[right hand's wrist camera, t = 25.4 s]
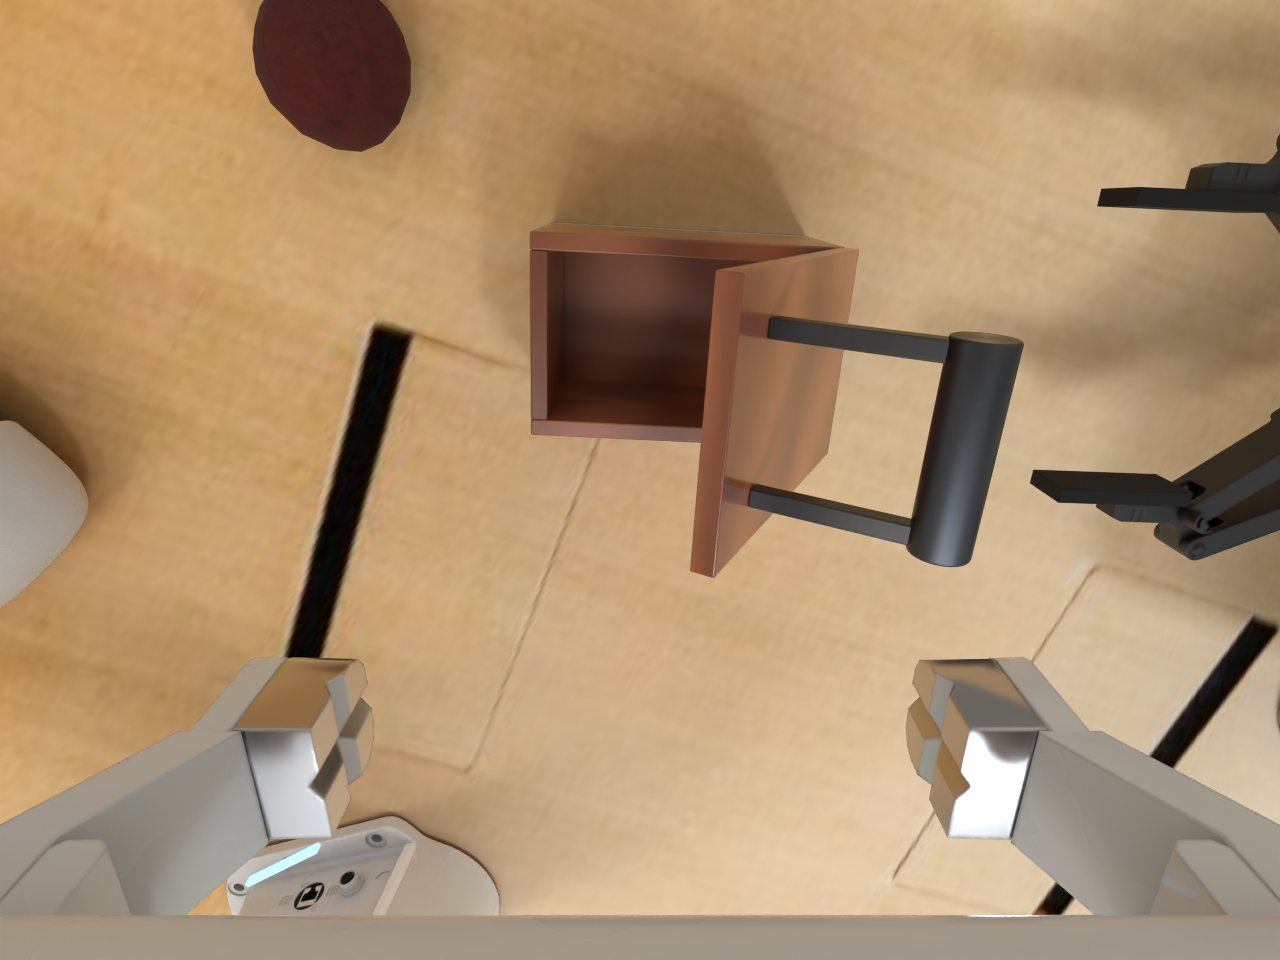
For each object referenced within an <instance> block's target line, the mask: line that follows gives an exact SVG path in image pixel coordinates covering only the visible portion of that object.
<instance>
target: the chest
mask: <svg viewBox="0 0 1280 960" xmlns="http://www.w3.org/2000/svg"><path fill="white" fill-rule="evenodd" d="M837 248H844V247H841V246H837V245H834V244H830V243H827V242H823V241H820V240H816V239H813V238H809V237H808V236H803V235H784V234H765V233H746V232H727V231H708V230H689V229H670V228H651V227H632V226H613V225H594V224H575V223H556V222H552V223H550V224H549V225H546V226H544V227H541V228H539V229H536V230H534V231H531V232H530V249H531V251H530V329H531V434H532V435H550V436H571V437H592V438H614V439H635V440H656V441H677V442H698V443H701V437H702V425H703V413H704V402H705V390H706V378H707V366H708V355H709V343H710V331H711V319H712V308H713V296H714V284H715V272H716V270H720V269H725V268H731V267H736V266H742V265H748V264H753V263H759V262H764V261H770V260H776V259H781V258H787V257H792V256H798V255H804V254H809V253H815V252H820V251H826V250H832V249H837Z"/></svg>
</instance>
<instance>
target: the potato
mask: <svg viewBox="0 0 1280 960" xmlns="http://www.w3.org/2000/svg"><path fill="white" fill-rule="evenodd" d="M253 55H254V63H255V70H256V75H257V77H258V79H259V81H260V83H261V85H262V87H263V89H264V91H265V93H266V95H267V97H268V99H269V101H270V103H271V104H272V105H273V106H274V107H275V108H276V109H277V110H278V111H279V112H280V113H281V114H282V115H283V116H284V117H285V118H286V119H287V120H288V121H289V122H290V123H291V124H292V125H293V126H294V127H295V128H296V129H297V130H298V131H299V132H300V133H301V134H303V135H306V136H308V137H310V138H312V139H315V140H317V141H319V142H321V143H323V144H326V145H328V146H330V147H332V148H335V149H339V150H349V151H359V152H362V151H364V150H366V149H369V148H371V147H373V146H376V145H378V144H380V143H382V142H383V141H384V140H385V139H386V138H387V137H388V135H389V134H390V133H391V132H392V131H393V130H394V129H395V127H396V126H397V125H398V124H399V122H400V120H401V117H402V114H403V112H404V109H405V106H406V103H407V101H408V98H409V95H410V57H409V54H408V50H407V47H406V44H405V40H404V37H403V34H402V32H401V30H400V29H399V27H398V25H397V23H396V21H395V20H394V18H393V16H392V14H391V13H390V12H389V10H388V9H387V8H386V7H385V6H384V4H383V3H382V2H381V1H380V0H264V1H263V2H262V4H261V6H260V8H259V12H258V16H257V19H256V23H255V28H254V38H253Z"/></svg>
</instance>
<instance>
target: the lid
mask: <svg viewBox="0 0 1280 960" xmlns="http://www.w3.org/2000/svg"><path fill="white" fill-rule="evenodd" d="M858 253H859V250H858V249H848V248H837V249H832V250H826V251H820V252H815V253H809V254H804V255H798V256H792V257H787V258H781V259H776V260H770V261H764V262H759V263H753V264H748V265H742V266H736V267H731V268H725V269H720V270H716V272H715V284H714V296H713V308H712V319H711V331H710V343H709V355H708V366H707V378H706V390H705V402H704V413H703V425H702V437H701V449H700V460H699V472H698V484H697V496H696V507H695V519H694V531H693V542H692V554H691V566H690V571H691V572H695V573H698V574H702V575H705V576H708V577H712V578H714V577H715V576H716V575H717V574H718V573H719V572H720V571H721V570H722V568H723V567H724V566H725V565H726V564H727V563H728V562H729V561H730V560H731V559H732V557H733V556H734V555H735V554H736V553H737V552H738V551H739V550H740V549H741V548H742V547H743V545H744V544H745V543H746V542H747V541H748V540H749V539H750V538H751V537H752V536H753V534H754V533H755V532H756V531H757V530H758V529H759V528H760V527H761V526H762V525H763V524H764V522H765V521H766V520H767V519H768V518H769V517H770V516H771V515H772V514H773V513H776V514H780V515H784V516H788V517H792V518H796V519H801V520H805V521H809V522H813V523H817V524H821V525H825V526H830V527H834V528H838V529H842V530H846V531H850V532H854V533H858V534H863V535H867V536H871V537H875V538H879V539H883V540H887V541H892V542H896V543H900V544H904V545H906V548H907V550H908V552H909V553H910V554H911V555H913V556H914V557H916V558H918V559H920V560H922V561H924V562H927V563H930V564H934V565H938V566H945V567H959V566H964V565H966V564H968V563H969V562H970V561H971V558H972V554H973V550H974V546H975V542H976V538H977V534H978V530H979V525H980V521H981V517H982V513H983V509H984V505H985V501H986V497H987V493H988V489H989V485H990V481H991V477H992V472H993V468H994V464H995V460H996V456H997V452H998V448H999V444H1000V440H1001V436H1002V432H1003V428H1004V424H1005V419H1006V415H1007V411H1008V407H1009V403H1010V399H1011V395H1012V391H1013V387H1014V383H1015V379H1016V375H1017V371H1018V366H1019V362H1020V358H1021V354H1022V350H1023V346H1024V344H1023V342H1022V341H1020V340H1018V339H1015V338H1012V337H1008V336H1003V335H997V334H990V333H981V332H955V333H951V334H950V335H949V337H946V336H938V335H930V334H922V333H914V332H906V331H898V330H890V329H882V328H874V327H866V326H858V325H850V324H848V318H849V312H850V305H851V299H852V292H853V286H854V279H855V273H856V266H857V260H858ZM844 350H850V351H858V352H865V353H872V354H879V355H886V356H894V357H901V358H908V359H915V360H922V361H930V362H937V363H943V368H942V372H941V377H940V382H939V387H938V392H937V397H936V401H935V406H934V411H933V416H932V421H931V426H930V431H929V435H928V440H927V445H926V450H925V455H924V460H923V465H922V469H921V474H920V479H919V484H918V489H917V494H916V498H915V503H914V508H913V513H912V518H911V519H910V518H906V517H901V516H897V515H892V514H888V513H884V512H879V511H875V510H870V509H866V508H862V507H857V506H853V505H848V504H844V503H840V502H835V501H831V500H826V499H822V498H818V497H813V496H809V495H804V494H800V493H795V492H793V491H794V490H795V488H796V487H797V486H798V485H799V484H800V483H801V482H802V481H803V480H804V479H805V478H806V476H807V475H808V474H809V473H810V472H811V471H812V470H813V469H814V468H815V467H816V465H817V464H818V463H819V462H820V461H821V460H822V459H823V458H824V457H825V456H826V454H827V453H828V448H829V442H830V435H831V429H832V422H833V416H834V409H835V403H836V396H837V390H838V383H839V377H840V370H841V364H842V357H843V351H844Z"/></svg>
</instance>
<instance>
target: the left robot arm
mask: <svg viewBox="0 0 1280 960" xmlns="http://www.w3.org/2000/svg"><path fill="white" fill-rule="evenodd" d="M1276 145H1277V150H1278V151H1277V152H1276V154H1275V155H1274V157H1273V158H1272V159H1271V160H1270V161H1269V162H1267V163H1266V164H1249V163H1230V162H1226V163H1213V164H1203V165H1200V166H1197V167H1194V168H1191V170H1190V174H1189V177H1188V181H1187V184H1186V188H1185V189H1171V188H1149V187H1131V188H1108V189H1101V193H1100V197H1099V201H1098V205H1097V206H1101V207H1123V208H1144V209H1166V210H1188V211H1210V212H1232V213H1265V214H1266V215H1267V217H1268V218H1269V219H1270V221H1271V222H1272V223H1273V225H1274V226H1275V228H1276V229H1277V230H1278V232H1279V233H1280V135H1279V136H1278V138H1277V143H1276ZM1270 417H1271V421H1270V422H1269V423H1267V424H1266V425H1264V426H1262V427H1261V428H1259V429H1257V430H1256V431H1254V432H1253V433H1251V434H1249V435H1248V436H1246V437H1244V438H1243V439H1241V440H1240V441H1238V442H1236V443H1235V444H1233V445H1231V446H1230V447H1228V448H1227V449H1225V450H1223V451H1222V452H1220V453H1218V454H1217V455H1215V456H1214V457H1212V458H1210V459H1209V460H1207V461H1205V462H1204V463H1202V464H1201V465H1199V466H1197V467H1196V468H1194V469H1193V470H1191V471H1189V472H1188V473H1186V474H1184V475H1183V476H1181V477H1180V478H1178V479H1176V480H1175V481H1173V482H1170V481H1168V480H1166V479H1164V478H1162V477H1160V476H1158V475H1156V474H1137V473H1110V472H1082V471H1055V470H1033V473H1032V477H1031V481H1030V484H1032V485H1033V486H1035V487H1036V488H1038V489H1039V490H1041V491H1042V492H1044V493H1045V494H1047V495H1048V496H1049V497H1051V498H1052V499H1054V500H1055V501H1057V502H1058V503H1085V504H1096V507H1097V508H1098V509H1100V510H1101V511H1103V512H1105V513H1106V514H1108V515H1109V516H1111V517H1112V518H1115V519H1117V520H1119V521H1122V522H1151V523H1159V524H1158V525H1157V526H1156V527H1155V529H1154V536H1155V537H1156V538H1157V539H1158V540H1160V541H1162V542H1163V543H1165V544H1166V545H1168V546H1169V547H1171V548H1173V549H1174V550H1176V551H1177V552H1179V553H1181V554H1182V555H1184V556H1186V557H1187V558H1189V559H1190V560H1199V559H1202V558H1205V557H1208V556H1210V555H1213V554H1216V553H1218V552H1221V551H1224V550H1227V549H1229V548H1232V547H1235V546H1238V545H1240V544H1243V543H1246V542H1248V541H1251V540H1254V539H1257V538H1259V537H1262V536H1265V535H1267V534H1270V533H1273V532H1276V531H1278V530H1280V408H1279V409H1278V410H1276V411H1274V412H1273V413H1272V414H1271V416H1270ZM1279 725H1280V710H1279Z"/></svg>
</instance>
